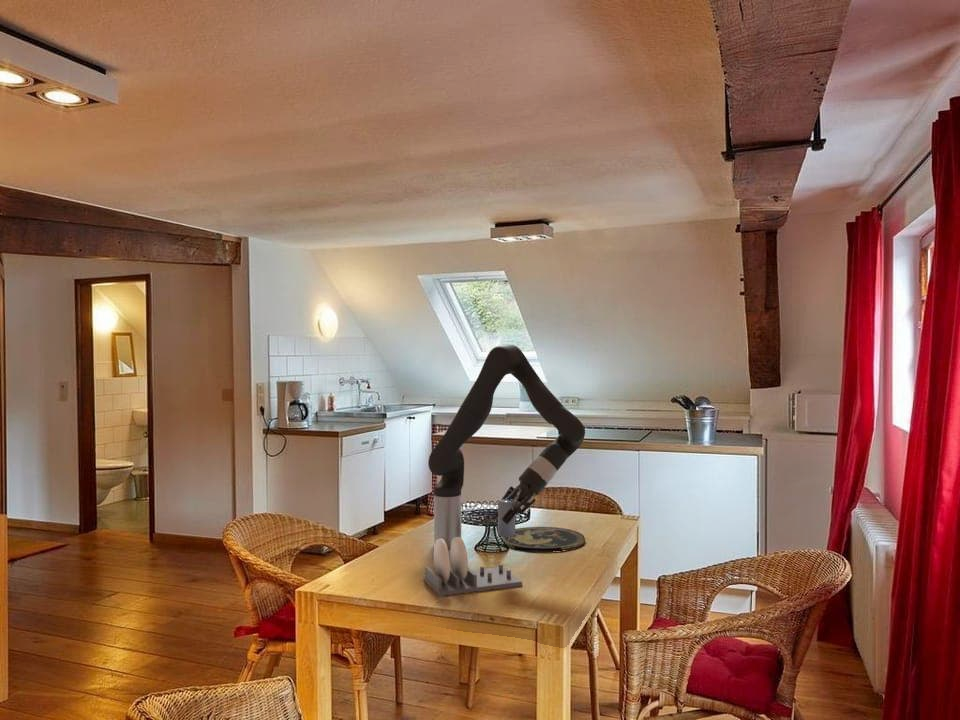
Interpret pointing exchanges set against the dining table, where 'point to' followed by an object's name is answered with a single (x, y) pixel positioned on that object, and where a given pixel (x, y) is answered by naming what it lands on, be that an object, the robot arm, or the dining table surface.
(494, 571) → the dish rack
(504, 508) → the grey dome-topped cylinder
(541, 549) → the decorative plate
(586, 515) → the dining table surface
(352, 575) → the dining table surface
